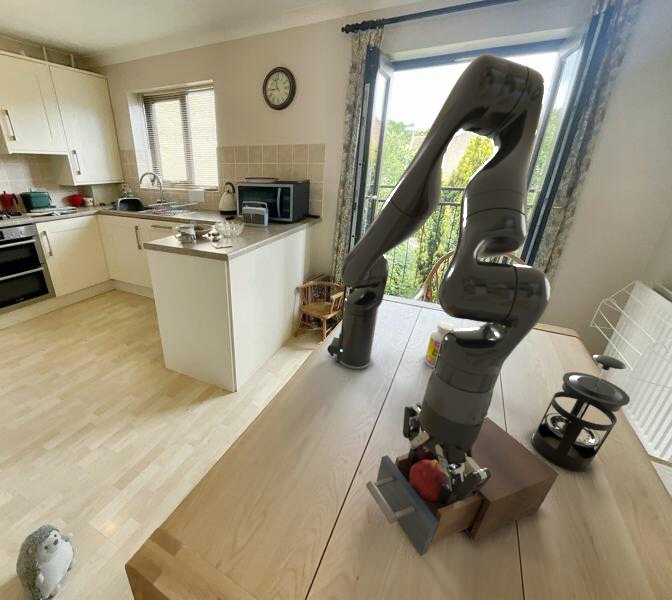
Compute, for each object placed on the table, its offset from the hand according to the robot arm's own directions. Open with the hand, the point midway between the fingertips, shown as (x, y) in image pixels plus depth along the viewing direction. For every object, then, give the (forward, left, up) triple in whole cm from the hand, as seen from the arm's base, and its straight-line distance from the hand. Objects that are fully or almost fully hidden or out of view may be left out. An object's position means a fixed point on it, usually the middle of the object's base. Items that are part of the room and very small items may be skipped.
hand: (428, 481), depth 50 cm
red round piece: (0, 0, -4) cm, 4 cm away
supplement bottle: (+5, +48, -8) cm, 49 cm away
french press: (+27, +25, -8) cm, 38 cm away
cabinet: (+9, +8, -8) cm, 15 cm away
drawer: (0, 0, -7) cm, 7 cm away
